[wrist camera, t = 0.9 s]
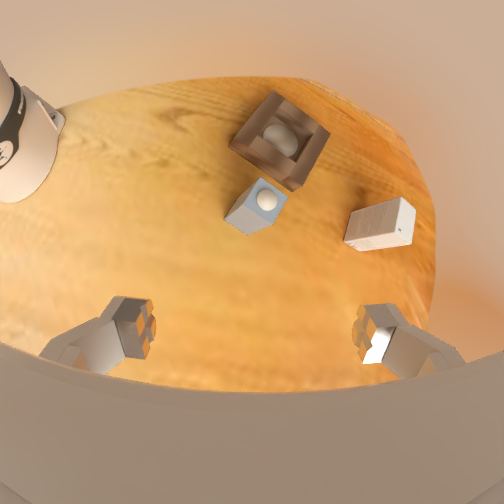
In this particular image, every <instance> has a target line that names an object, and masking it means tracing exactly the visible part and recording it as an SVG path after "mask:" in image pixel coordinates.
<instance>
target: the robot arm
mask: <svg viewBox="0 0 504 504" xmlns="http://www.w3.org/2000/svg"><path fill="white" fill-rule="evenodd" d="M54 117H55V119H53V118H54ZM52 119H53V120H52ZM64 123H65V118H64V116H63V115H62V114H61V113H59V112H58V111H57V110H55V109H54V108H53V107H51V106H50V105H49V104H48V103H46V102H45V101H44V100H42V99H41V98H40V97H39V96H37V95H36V94H35V93H33V92H32V91H31V90H29V89H28V88H27V87H25V86H22V87H20V86H19V84H18V83H17V82H16V81H15V80H14V79H13V78H11V77H9V76H8V74H7V72H6V70H5V69H4V67H3V64H2V63H1V61H0V202H4V203H14V202H18V201H20V200H23V199H24V198H26V197H28V196H29V195H30V194H32V193H33V192H34V191H35V190H36V189H37V188H38V187H39V186H40V185H41V183H42V182H43V181H44V179H45V178H46V176H47V175H48V173H49V171H50V169H51V167H52V165H53V162H54V160H55V156H56V152H57V144H58V137H59V134H60V132H61V130H62V128H63V126H64ZM152 310H153V304H152V301H151V300H150V299H145V298H136V297H127V296H114V298H113V299H112V300H111V302H110V303H109V304H108V306H107V307H106V309H105V310H104V311H103V313H102V314H101V316H100V317H99V318H97V317H95V318H93V319H91V320H89V321H87V322H85V323H83V324H81V325H79V326H77V327H75V328H73V329H71V330H69V331H67V332H65V333H63V334H61V335H59V336H57V337H55V338H53V339H51V340H50V341H49V343H48V344H47V345H46V347H45V348H44V349H43V351H42V352H41V354H40V355H39V356H36V355H33V354H30V353H28V352H25V351H22V350H20V349H17V348H15V347H12V346H10V345H7V344H5V343H2V342H0V504H504V350H503V351H501V352H498V353H496V354H493V355H491V356H487V357H485V358H482V359H479V360H476V361H473V362H470V363H466V362H465V361H464V359H463V358H462V357H461V355H460V354H459V352H458V351H457V350H456V348H455V347H453V346H451V345H449V344H447V343H445V342H444V341H442V340H440V339H438V338H436V337H434V336H433V335H431V334H429V333H427V332H425V331H423V330H421V329H420V328H418V327H416V326H414V325H410V324H409V323H408V322H407V320H406V319H405V318H404V316H403V315H402V313H401V312H400V311H399V309H398V308H397V307H396V305H395V304H393V303H386V304H374V305H360V306H359V308H358V311H357V316H358V319H357V320H356V321H355V322H354V324H353V328H352V338H353V342H354V344H355V345H356V346H357V347H359V351H358V354H359V356H360V358H361V360H362V363H375V362H381V363H382V364H383V365H384V366H386V367H387V368H388V369H389V370H390V371H391V372H393V373H394V374H395V375H396V376H397V377H399V378H400V379H401V380H397V381H391V382H386V383H380V384H373V385H366V386H358V387H350V388H341V389H330V390H317V391H300V392H228V391H211V390H199V389H188V388H179V387H171V386H163V385H156V384H149V383H143V382H137V381H132V380H126V379H121V378H116V377H112V376H107V375H105V374H106V373H108V372H109V371H110V370H111V369H113V368H114V367H115V366H116V365H118V364H119V363H120V362H121V361H123V360H124V359H125V358H126V357H129V358H137V359H145V360H146V357H147V355H148V352H149V350H150V345H149V343H150V342H151V341H153V340H154V337H155V333H156V320H155V317H154V316H153V315H152V314H151V312H152Z"/></svg>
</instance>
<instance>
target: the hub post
mask: <svg viewBox="0 0 504 504" xmlns="http://www.w3.org/2000/svg"><path fill="white" fill-rule="evenodd" d="M287 198H288V196H286V195H285V194H283V193H282V192H281V191H279V190H278V189H277V188H275V187H274V186H272V185H271V184H270V183H268V182H267V181H265V180H264V179H263V178H261V177H260V178H259V179H257V180H256V181H255V182H254V183H253V184H252V185H251V186H250V187H249V188H248V189H247V190H245V191H244V192H243V193H242V194H241V195H240V196H239V197H238V198H237V200H236V201H235V203H234V205H233V206H232V208H231V209H230V211H229V212H228V214H227V216H226V217H225V219H224V220H225V221H226V222H228V223H229V224H231V225H232V226H234V227H235V228H237V229H238V230H240V231H241V232H243V233H244V234H246V235H249V234H252V233H254V232H257V231H259V230H261V229H264V228H266V227H268V226H271V225H273V223H274V221H275V219H276V218H277V216H278V214H279V212H280V210H281V209H282V207H283V205H284V203H285V202H286V200H287Z"/></svg>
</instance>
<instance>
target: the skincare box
mask: <svg viewBox="0 0 504 504" xmlns="http://www.w3.org/2000/svg"><path fill="white" fill-rule="evenodd" d="M415 216H416V209H415V208H414V207H412V206H411V205H410V204H409V203H408V202H407V201H406V200H405V199H404V198H403V197H401V196H400V197H397V198H394V199H391V200H388V201H385V202H382V203H378V204H375V205H372V206H369V207H365V208H362V209H359V210H356V211H353V212H351V215H350V219H349V223H348V227H347V230H346V234H345V237H344V241H343V242H345V243H346V244H348V245H350V246H352V247H353V248H355V249H356V250H358V251H367V250H374V249H381V248H388V247H396V246H402V245H409V244H411V243H412V236H413V230H414V223H415Z"/></svg>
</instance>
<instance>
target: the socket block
mask: <svg viewBox="0 0 504 504" xmlns="http://www.w3.org/2000/svg"><path fill="white" fill-rule="evenodd" d="M329 136H330V133H329V132H328V131H327V130H325V129H324V128H323V127H322V126H321V125H319V124H318V123H317V122H316V121H314V120H313V119H312V118H310V117H309V116H308V115H307V114H305V113H304V112H303V111H301V110H300V109H299V108H297V107H296V106H294V105H293V104H292V103H290V102H289V101H288V100H286V99H285V98H283V97H282V96H281V95H279V94H278V93H276V92H275V91H272V92H271V93H270V94H269V95H268V96H267V98H266V99H265V100H264V101H263V102H262V103H261V105H260V106H259V107H258V108H257V109H256V111H255V112H254V113H253V114H252V115H251V117H250V118H249V119H248V120H247V122H246V123H245V124H244V125H243V127H242V128H241V129H240V130H239V132H238V133H237V134H236V135H235V137H234V138H233V140H232V142H231V143H230V145H229V148H230V149H232V150H233V151H234V152H236V153H237V154H239V155H240V156H242V157H243V158H245V159H246V160H248V161H249V162H251V163H252V164H253V165H255V166H256V167H258V168H259V169H261V170H262V171H263V172H265V173H266V174H268V175H269V176H270V177H272V178H273V179H275V180H276V181H277V182H279V183H280V184H281V185H283V186H284V187H286V188H287V189H288V190H290V191H291V192H293V191H294V190H296V189H298V188H300V187H301V186H303V184H304V182H305V180H306V179H307V177H308V175H309V173H310V171H311V169H312V168H313V166H314V164H315V162H316V160H317V158H318V156H319V155H320V153H321V151H322V149H323V147H324V145H325V143H326V142H327V140H328V138H329Z"/></svg>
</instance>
